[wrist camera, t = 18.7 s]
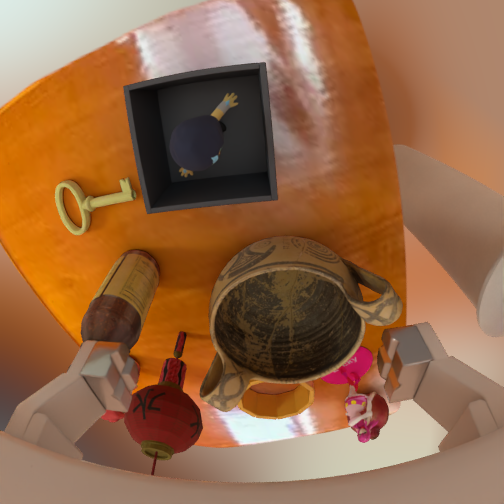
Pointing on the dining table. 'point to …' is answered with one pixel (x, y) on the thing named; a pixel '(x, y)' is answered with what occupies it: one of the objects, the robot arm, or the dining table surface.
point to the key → (89, 202)
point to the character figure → (200, 139)
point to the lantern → (165, 412)
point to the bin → (235, 137)
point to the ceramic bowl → (288, 316)
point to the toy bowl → (277, 401)
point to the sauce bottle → (122, 300)
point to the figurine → (355, 401)
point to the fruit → (376, 414)
